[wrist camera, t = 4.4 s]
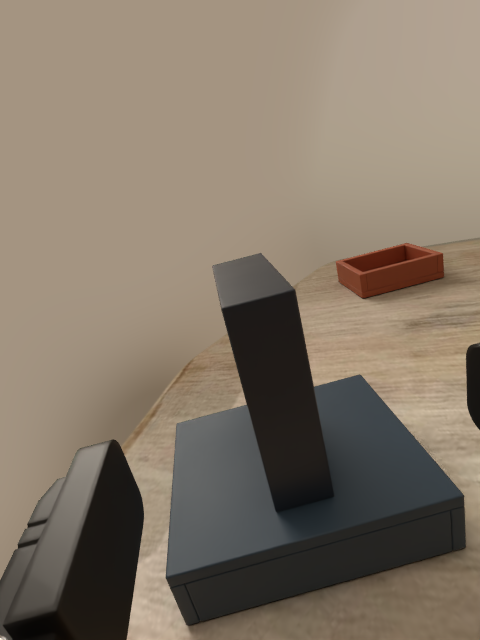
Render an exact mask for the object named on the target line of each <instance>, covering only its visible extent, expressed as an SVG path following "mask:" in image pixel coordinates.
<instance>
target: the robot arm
mask: <svg viewBox="0 0 480 640" xmlns="http://www.w3.org/2000/svg"><path fill="white" fill-rule="evenodd" d="M466 372H467V406H468V410H469V413H470V416H471V418H472V420H473V422H474V423H475V425H476V426H477V427H478V429H479V430H480V343H477V344H473V345H471V346H469V348H468V350H467V353H466ZM143 522H144V509H143V502H142V497H141V494H140V491H139V488H138V486H137V484H136V481H135V479H134V477H133V474H132V472H131V470H130V467H129V465H128V463H127V460H126V458H125V456H124V453H123V451H122V449H121V447H120V445H119V443H118V442H117V441H116V440H110V441H106V442H102V443H99V444H95V445H91V446H87V447H84V448H80V449H79V450H78V451H77V452H76V454H75V456H74V459H73V461H72V463H71V466H70V468H69V471H68V473H67V475H66V477H63V478H60V479H57V480H56V481H55V483H54V484H53V485H52V486H51V487H50V488H49V489H48V491H47V492H46V493H45V494H44V495H43V496H42V497H41V499H40V500H39V501H38V503H37V505H36V507H35V509H34V511H33V513H32V516H31V518H30V520H29V522H28V524H27V525H28V528H27V529H25V530H24V532H23V534H22V536H21V538H20V540H19V543H18V549H16V550H15V551H14V553H13V555H12V557H11V559H10V561H9V563H8V565H7V567H6V570H5V572H4V574H3V576H2V578H1V580H0V640H127V633H128V626H129V619H130V612H131V605H132V599H133V592H134V585H135V578H136V571H137V564H138V557H139V550H140V543H141V536H142V530H143Z"/></svg>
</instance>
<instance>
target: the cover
mask: <svg viewBox="0 0 480 640" xmlns="http://www.w3.org/2000/svg"><path fill="white" fill-rule="evenodd" d="M212 268H213V272H214V277H215V282H216V286H217V291H218V296H219V300H220V305H221V310H222V313H223V317H224V321H225V325H226V328H227V332H228V336H229V339H230V343H231V347H232V351H233V354H234V358H235V362H236V366H237V369H238V373H239V377H240V380H241V384H242V388H243V392H244V395H245V399H246V403H247V405H244V406H241V407H237V408H233V409H229V410H226V411H222V412H218V413H214V414H211V415H207V416H203V417H199V418H196V419H192V420H188V421H185V422H181V423H177V426H176V440H175V454H174V468H173V483H172V497H171V511H170V525H169V539H168V553H167V567H166V580H167V582H168V584H169V586H170V589H171V591H172V593H173V595H174V598H175V600H176V602H177V604H178V607H179V609H180V611H181V614H182V616H183V618H184V620H185V623H186V625H191V624H194V623H198V622H200V621H205V620H209V619H212V618H216V617H219V616H223V615H227V614H230V613H234V612H237V611H241V610H244V609H248V608H251V607H255V606H259V605H262V604H266V603H269V602H273V601H276V600H280V599H284V598H287V597H291V596H294V595H298V594H301V593H305V592H308V591H312V590H316V589H319V588H323V587H326V586H330V585H333V584H337V583H341V582H344V581H348V580H351V579H355V578H358V577H362V576H366V575H369V574H373V573H376V572H380V571H383V570H387V569H390V568H394V567H398V566H401V565H405V564H408V563H412V562H415V561H419V560H423V559H426V558H430V557H433V556H437V555H440V554H444V553H447V552H451V551H452V550H453V551H455V550H458V549H462V548H465V547H466V539H465V509H464V495H463V494H462V492H461V491H460V490H459V489H458V488H457V487H456V485H455V484H454V483H453V482H452V481H451V480H450V478H449V477H448V476H447V475H446V474H445V473H444V471H443V470H442V469H441V468H440V467H439V466H438V464H437V463H436V462H435V461H434V460H433V459H432V457H431V456H430V455H429V454H428V453H427V452H426V450H425V449H424V448H423V447H422V446H421V445H420V443H419V442H418V441H417V440H416V439H415V438H414V436H413V435H412V434H411V433H410V432H409V431H408V429H407V428H406V427H405V426H404V425H403V424H402V422H401V421H400V420H399V419H398V418H397V417H396V416H395V414H394V413H393V412H392V411H391V410H390V409H389V407H388V406H387V405H386V404H385V403H384V402H383V400H382V399H381V398H380V397H379V396H378V395H377V393H376V392H375V391H374V390H373V389H372V388H371V386H370V385H369V384H368V383H367V382H366V381H365V379H364V378H363V377H362V376H361V375H356V376H353V377H349V378H345V379H341V380H338V381H334V382H330V383H327V384H323V385H319V386H315V387H314V386H313V380H312V375H311V370H310V365H309V359H308V354H307V349H306V344H305V339H304V333H303V328H302V323H301V318H300V312H299V307H298V302H297V297H296V292H295V289H294V288H293V287H292V286H291V285H290V284H289V283H288V282H287V281H286V279H285V278H284V277H283V276H282V275H281V274H280V273H279V272H278V271H277V270H276V269H275V268H274V267H273V265H272V264H271V263H270V262H269V261H268V260H267V259H266V258H265V257H264V256H263V255H262V254H261V253H259V254H255V255H252V256H248V257H244V258H240V259H236V260H233V261H228V262H224V263H221V264H217V265H213V266H212Z"/></svg>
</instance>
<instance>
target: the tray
mask: <svg viewBox="0 0 480 640" xmlns="http://www.w3.org/2000/svg"><path fill="white" fill-rule="evenodd" d="M336 266H337V272H338V279H339V282H340V283H341V284H343V285H344V286H346V287H347V288H349V289H350V290H351V291H353V292H354V293H356V294H357V295H359V296H360V297H362V298H366V297H370V296H374V295H378V294H381V293H385V292H389V291H393V290H397V289H401V288H404V287H408V286H412V285H416V284H420V283H423V282H427V281H431V280H435V279H439V278H442V277H444V272H443V271H444V266H443V253H440V252H436V251H433V250H430V249H426V248H423V247H419V246H416V245H412V244H409V243H405V244H401V245H398V246H393V247H390V248H386V249H382V250H378V251H374V252H371V253H367V254H363V255H359V256H355V257H351V258H347V259H343V260H340V261H336Z"/></svg>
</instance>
